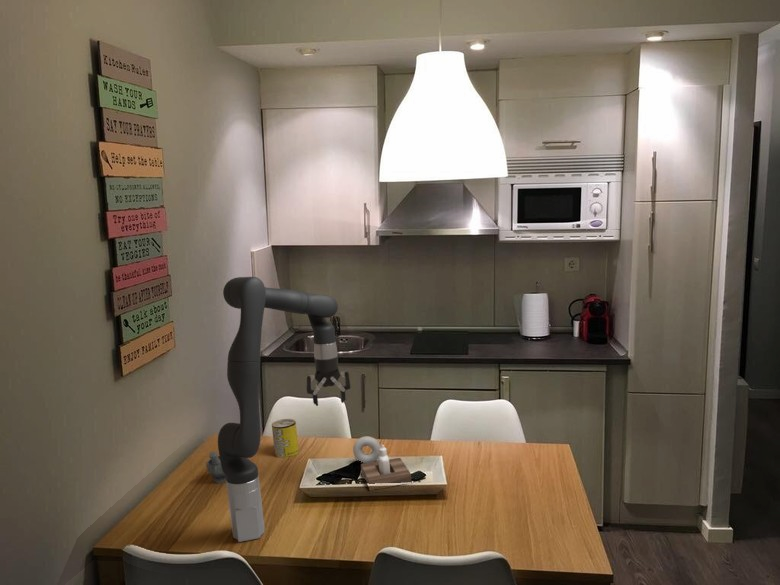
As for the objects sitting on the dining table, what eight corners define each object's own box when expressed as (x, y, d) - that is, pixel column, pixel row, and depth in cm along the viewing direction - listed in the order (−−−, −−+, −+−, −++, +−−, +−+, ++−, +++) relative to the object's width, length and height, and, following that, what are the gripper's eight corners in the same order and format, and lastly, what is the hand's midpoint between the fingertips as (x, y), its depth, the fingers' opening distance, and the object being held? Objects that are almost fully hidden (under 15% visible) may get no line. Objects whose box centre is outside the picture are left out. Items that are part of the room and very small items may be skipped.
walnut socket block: (411, 483, 221) (410, 473, 221) (369, 491, 218) (369, 480, 218) (400, 467, 235) (400, 457, 234) (361, 473, 232) (360, 464, 231)
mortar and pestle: (215, 473, 242) (211, 441, 240) (240, 473, 240) (236, 441, 239) (202, 487, 231) (198, 454, 229) (228, 487, 229) (224, 453, 228)
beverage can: (279, 448, 260) (275, 419, 259) (301, 448, 259) (298, 418, 257) (271, 458, 252) (268, 427, 250) (295, 457, 250) (291, 427, 248)
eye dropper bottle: (393, 475, 228) (390, 441, 227) (389, 482, 223) (386, 448, 221) (381, 475, 230) (378, 441, 228) (376, 482, 224) (373, 448, 222)
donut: (382, 460, 242) (380, 433, 240) (382, 464, 238) (379, 437, 237) (354, 462, 242) (352, 435, 240) (353, 466, 239) (351, 439, 237)
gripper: (305, 360, 216) (309, 409, 218) (349, 355, 218) (352, 404, 221) (303, 355, 223) (307, 403, 225) (345, 351, 226) (349, 398, 228)
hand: (329, 403), depth 223 cm, fingers open, 8 cm apart
